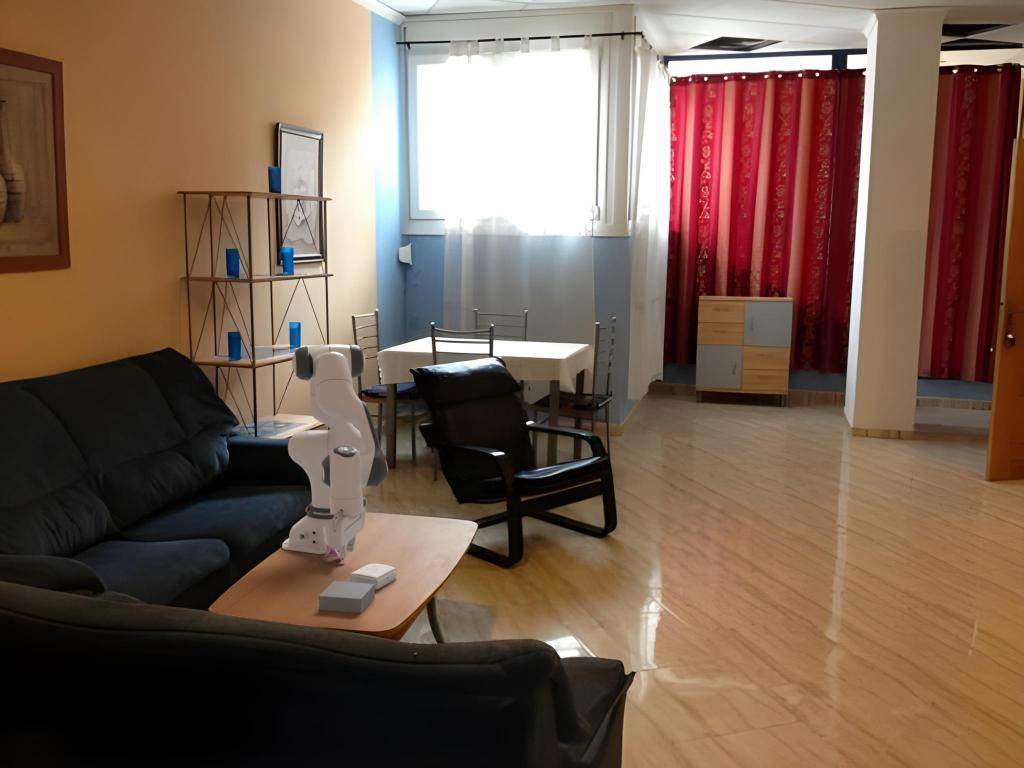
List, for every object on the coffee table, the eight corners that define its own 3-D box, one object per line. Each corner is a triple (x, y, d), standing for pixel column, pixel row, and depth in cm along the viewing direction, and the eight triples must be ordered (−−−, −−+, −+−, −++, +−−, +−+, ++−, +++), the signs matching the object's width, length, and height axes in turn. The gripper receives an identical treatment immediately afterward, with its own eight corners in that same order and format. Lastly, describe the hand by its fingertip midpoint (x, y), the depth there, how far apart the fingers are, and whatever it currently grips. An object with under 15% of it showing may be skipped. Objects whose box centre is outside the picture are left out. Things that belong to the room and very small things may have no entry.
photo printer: (378, 591, 265) (400, 578, 276) (378, 577, 264) (400, 565, 275) (348, 586, 269) (371, 573, 280) (348, 572, 268) (371, 560, 279)
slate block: (319, 609, 250) (319, 595, 250) (334, 594, 262) (334, 581, 261) (361, 613, 248) (361, 599, 248) (374, 597, 260) (374, 583, 260)
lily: (336, 574, 279) (347, 544, 281) (301, 560, 281) (313, 531, 283) (346, 574, 291) (357, 545, 293) (312, 561, 293) (324, 533, 294)
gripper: (344, 516, 241) (345, 567, 242) (368, 497, 261) (369, 544, 263) (322, 515, 242) (322, 565, 243) (347, 496, 262) (348, 543, 264)
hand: (347, 554), depth 253 cm, fingers open, 5 cm apart
